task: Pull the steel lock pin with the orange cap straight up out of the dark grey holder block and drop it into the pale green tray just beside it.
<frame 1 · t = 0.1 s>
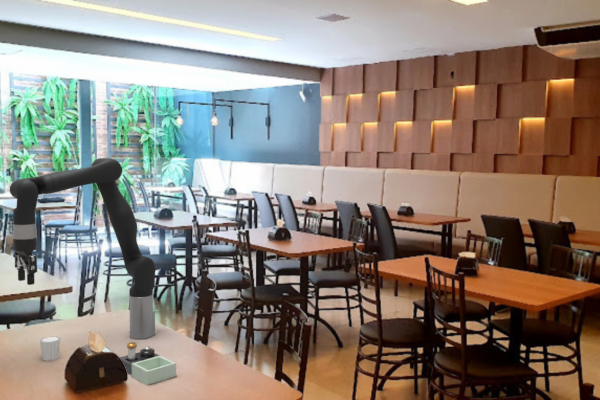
hand: (26, 282, 201), 29 cm above the table, tool pointing down, fingers open, 8 cm apart
lock pin: (132, 369, 200), resting in dark grey holder block
parts tray: (153, 376, 193), on the table
dark grey holder block: (139, 366, 202), on the table
white ribbed cylinder: (50, 358, 209), on the table
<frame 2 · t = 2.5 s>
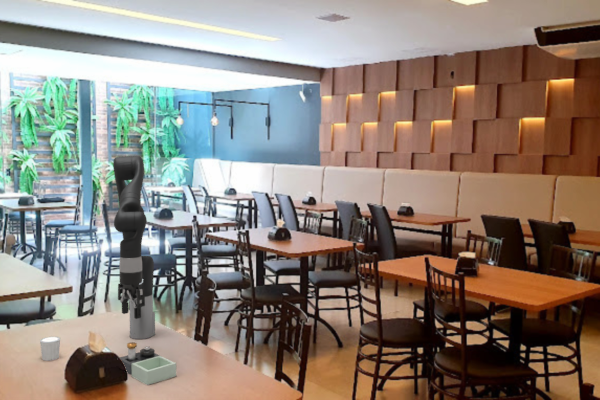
hand: (131, 315, 198), 19 cm above the table, tool pointing down, fingers open, 8 cm apart
nothing on the table moved.
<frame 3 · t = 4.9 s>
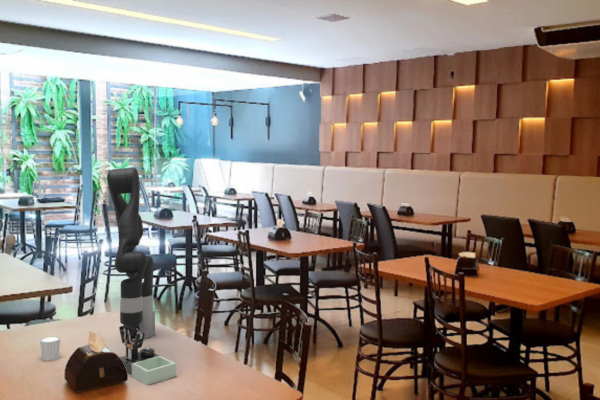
hand: (131, 357, 199), 4 cm above the table, tool pointing down, fingers closed on lock pin, 3 cm apart
lock pin: (132, 369, 200), resting in dark grey holder block, touching gripper
everything else where it was.
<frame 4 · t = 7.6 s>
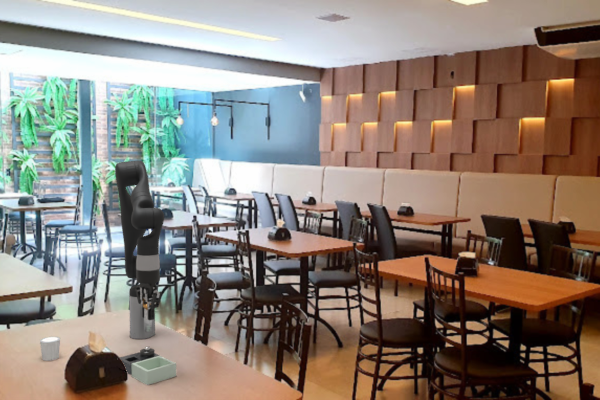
hand: (148, 318, 192), 20 cm above the table, tool pointing down, fingers closed on lock pin, 3 cm apart
lock pin: (148, 330, 192), point 16 cm above the table, touching gripper
everything else where it was.
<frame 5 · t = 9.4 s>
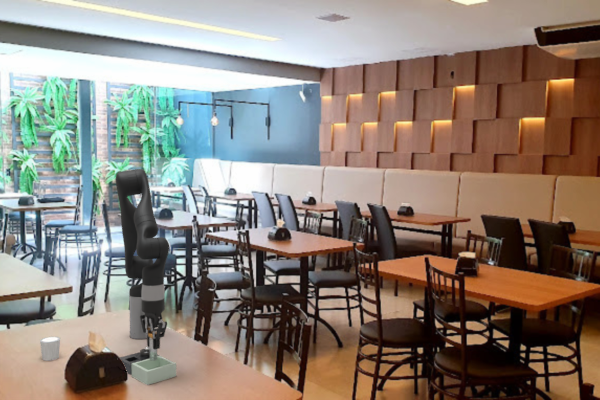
hand: (153, 347, 193), 10 cm above the table, tool pointing down, fingers closed on lock pin, 3 cm apart
lock pin: (153, 359, 193), point 6 cm above the table, touching gripper
everything else where it was.
when the fingers open (8 cm above the table, at t = 10.6 s): lock pin drops 2 cm, resting on parts tray.
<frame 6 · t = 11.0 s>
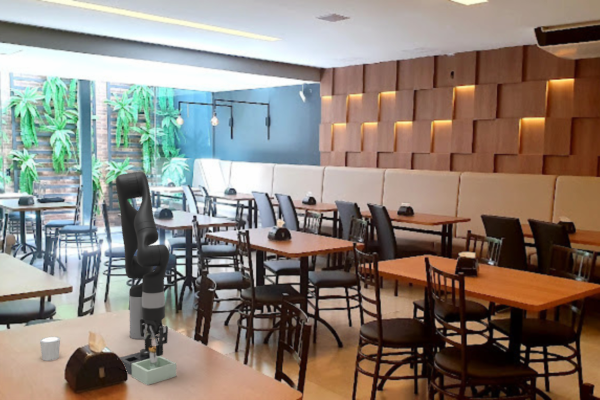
hand: (153, 352, 193), 8 cm above the table, tool pointing down, fingers open, 6 cm apart
lock pin: (153, 373, 193), point 1 cm above the table, touching parts tray
everything else where it was.
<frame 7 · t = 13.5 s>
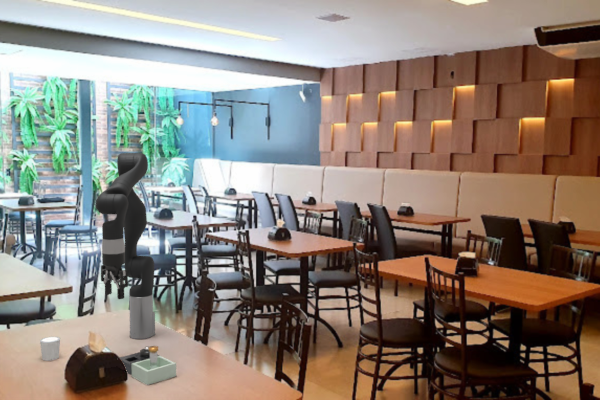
hand: (114, 296, 201), 25 cm above the table, tool pointing down, fingers open, 8 cm apart
nothing on the table moved.
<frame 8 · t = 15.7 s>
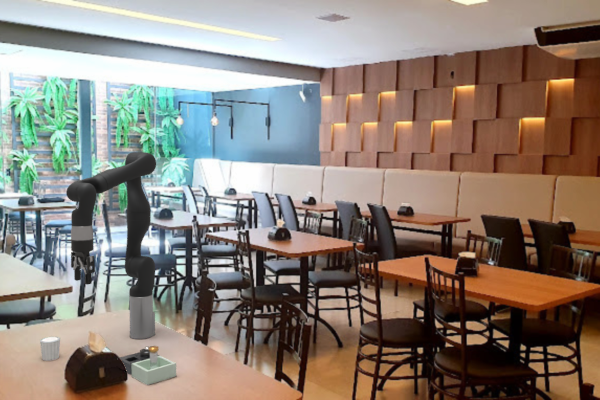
hand: (83, 282, 208), 28 cm above the table, tool pointing down, fingers open, 8 cm apart
nothing on the table moved.
at the end: lock pin inside the target area on the parts tray (0.0 cm from its centre), point 1.0 cm above the parts tray's base; the gripper is holding nothing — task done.
